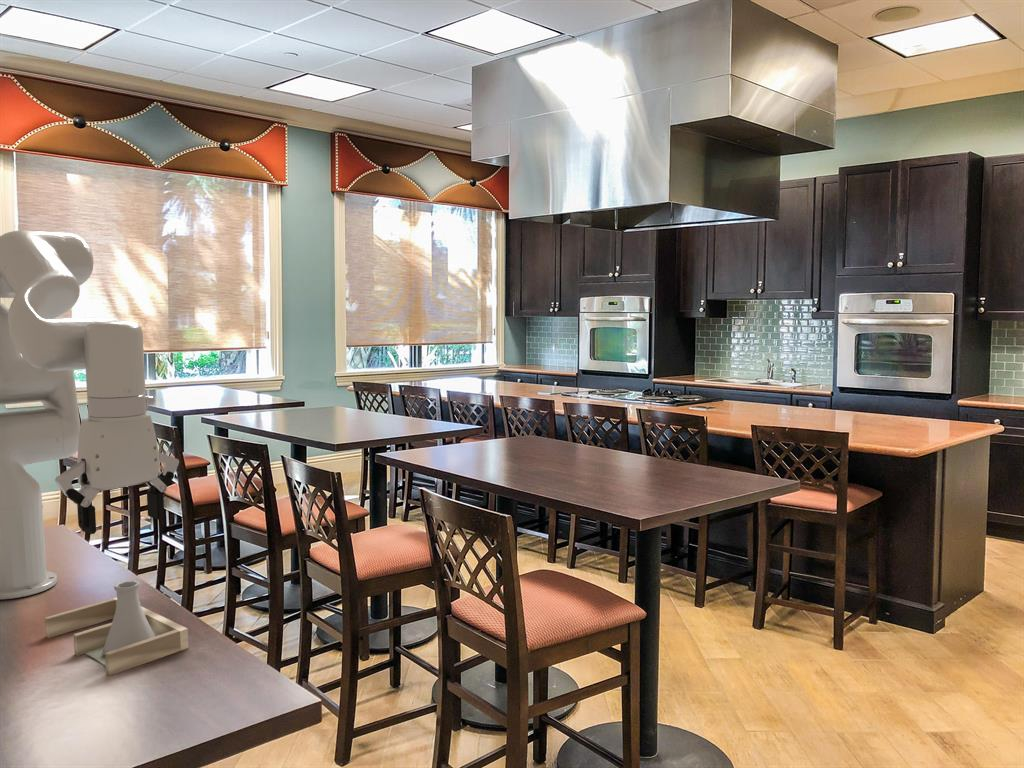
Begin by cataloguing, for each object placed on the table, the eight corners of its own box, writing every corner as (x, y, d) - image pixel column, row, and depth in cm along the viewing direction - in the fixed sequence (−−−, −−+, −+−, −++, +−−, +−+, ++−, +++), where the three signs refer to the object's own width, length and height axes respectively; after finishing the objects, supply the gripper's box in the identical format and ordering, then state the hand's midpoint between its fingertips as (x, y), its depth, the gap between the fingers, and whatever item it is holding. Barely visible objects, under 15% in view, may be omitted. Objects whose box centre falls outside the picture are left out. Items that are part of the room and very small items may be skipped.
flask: (135, 663, 118) (131, 594, 117) (91, 657, 120) (87, 590, 119) (167, 642, 125) (164, 577, 124) (126, 637, 127) (122, 574, 126)
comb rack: (45, 636, 128) (44, 617, 127) (121, 613, 137) (120, 596, 136) (109, 675, 114) (108, 654, 114) (188, 647, 123) (187, 628, 123)
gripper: (162, 399, 127) (166, 508, 129) (41, 411, 114) (48, 533, 116) (187, 403, 123) (192, 517, 125) (65, 417, 109) (72, 543, 111)
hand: (123, 524), depth 120 cm, fingers open, 9 cm apart
